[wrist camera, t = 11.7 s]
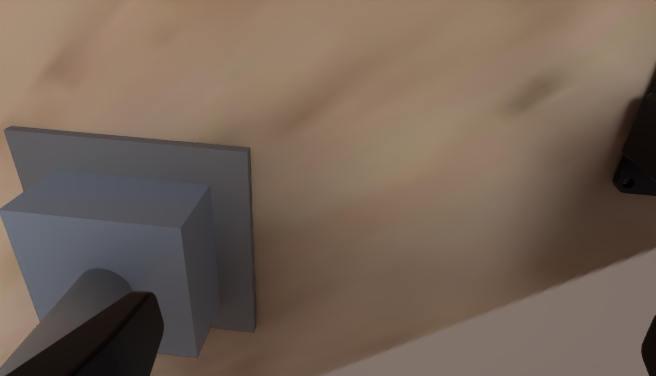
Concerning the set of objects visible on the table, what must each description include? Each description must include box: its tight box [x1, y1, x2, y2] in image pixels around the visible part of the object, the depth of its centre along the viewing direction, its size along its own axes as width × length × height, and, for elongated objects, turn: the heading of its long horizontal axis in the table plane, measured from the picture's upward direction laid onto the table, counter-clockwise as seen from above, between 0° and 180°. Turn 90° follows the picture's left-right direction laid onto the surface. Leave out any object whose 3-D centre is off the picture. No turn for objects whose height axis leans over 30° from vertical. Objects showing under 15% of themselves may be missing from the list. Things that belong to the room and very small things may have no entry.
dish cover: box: [0, 170, 220, 376], centre depth 19 cm, size 8×8×11 cm
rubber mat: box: [4, 126, 256, 333], centre depth 24 cm, size 12×12×1 cm
